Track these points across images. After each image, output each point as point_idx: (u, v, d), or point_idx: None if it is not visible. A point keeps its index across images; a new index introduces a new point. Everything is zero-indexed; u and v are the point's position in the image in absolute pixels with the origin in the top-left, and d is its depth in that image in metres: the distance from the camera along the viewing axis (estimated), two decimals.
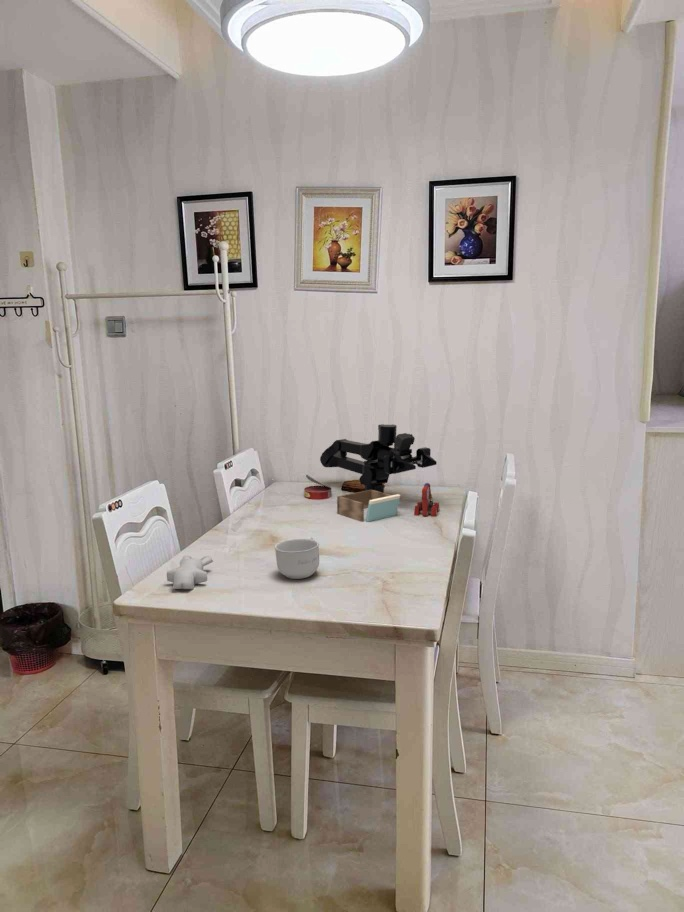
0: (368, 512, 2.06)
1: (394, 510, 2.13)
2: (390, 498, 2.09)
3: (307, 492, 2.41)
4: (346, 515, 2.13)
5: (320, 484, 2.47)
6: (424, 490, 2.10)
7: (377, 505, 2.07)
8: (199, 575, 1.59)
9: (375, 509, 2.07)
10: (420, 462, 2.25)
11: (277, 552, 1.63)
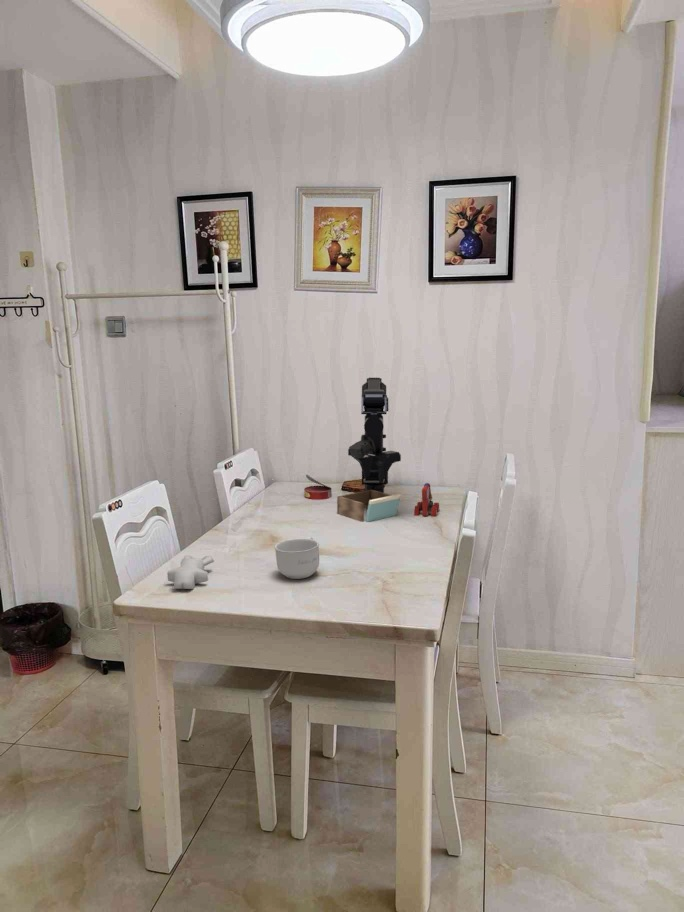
0: (368, 512, 2.06)
1: (394, 510, 2.13)
2: (390, 498, 2.09)
3: (307, 492, 2.41)
4: (346, 515, 2.13)
5: (320, 484, 2.47)
6: (424, 490, 2.10)
7: (377, 505, 2.07)
8: (199, 575, 1.59)
9: (375, 509, 2.07)
10: None
11: (277, 552, 1.63)
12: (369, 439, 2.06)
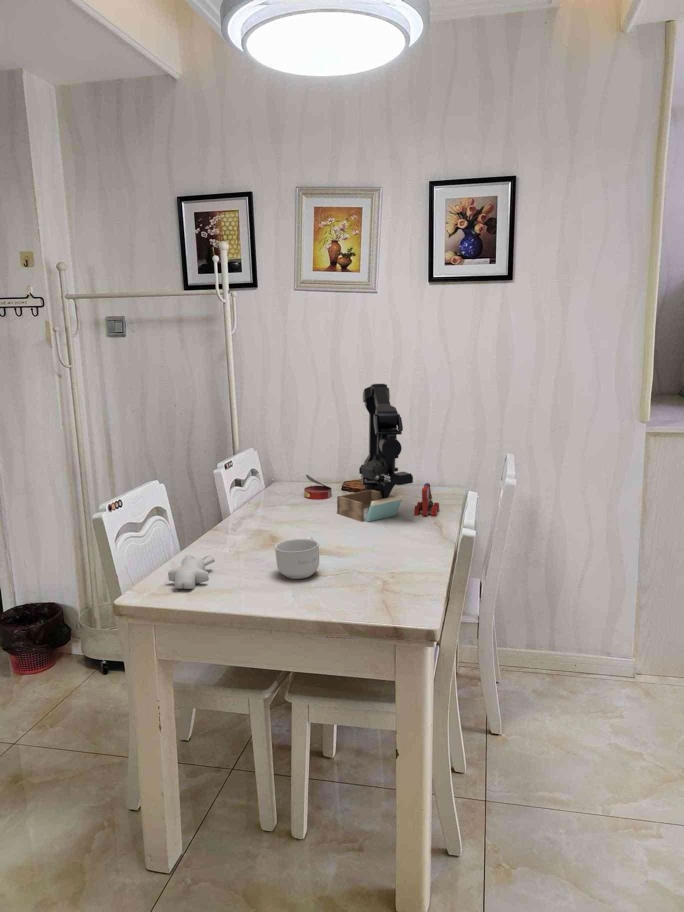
0: (369, 513, 2.06)
1: (394, 510, 2.12)
2: (392, 499, 2.09)
3: (307, 492, 2.41)
4: (346, 515, 2.13)
5: (320, 484, 2.47)
6: (424, 490, 2.10)
7: (378, 506, 2.06)
8: (200, 575, 1.59)
9: (376, 510, 2.06)
10: None
11: (277, 552, 1.63)
12: (381, 459, 2.02)
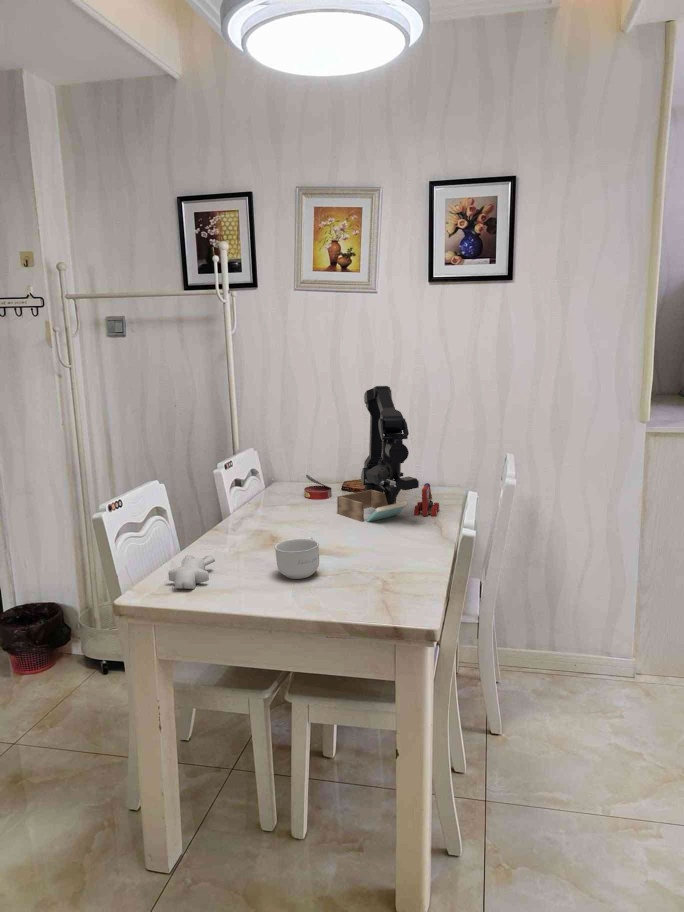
0: (371, 515, 2.05)
1: (396, 512, 2.12)
2: (397, 506, 2.07)
3: (307, 492, 2.41)
4: (346, 515, 2.13)
5: (320, 484, 2.47)
6: (424, 490, 2.10)
7: (382, 512, 2.05)
8: (200, 575, 1.59)
9: (379, 514, 2.06)
10: None
11: (277, 552, 1.63)
12: (386, 464, 2.01)
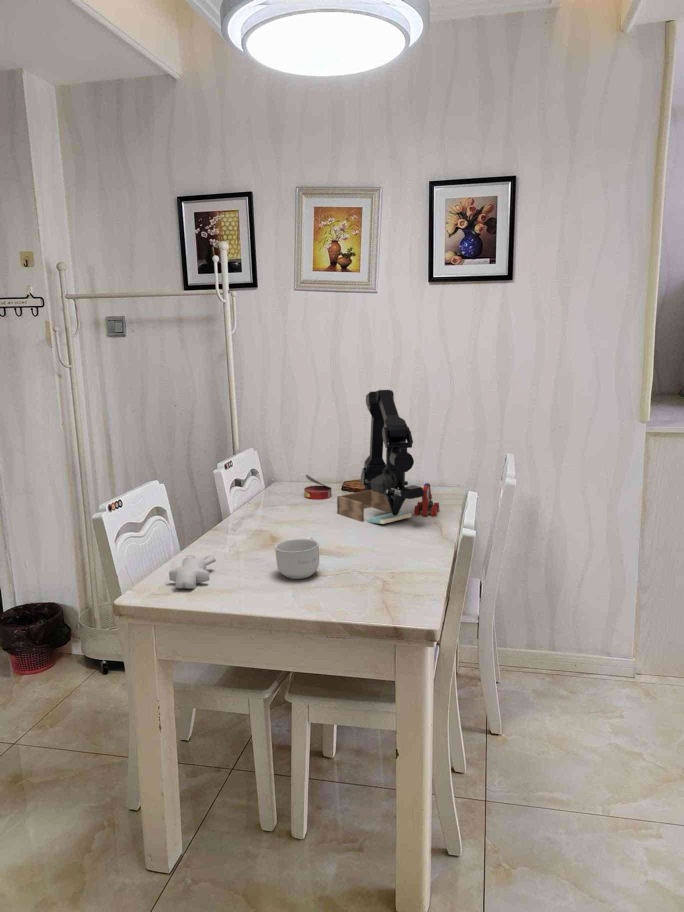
0: (374, 521, 2.04)
1: None
2: (401, 518, 2.06)
3: (307, 492, 2.41)
4: (346, 515, 2.13)
5: (320, 484, 2.47)
6: (424, 490, 2.10)
7: None
8: (201, 574, 1.59)
9: None
10: None
11: (277, 552, 1.63)
12: (391, 473, 2.00)
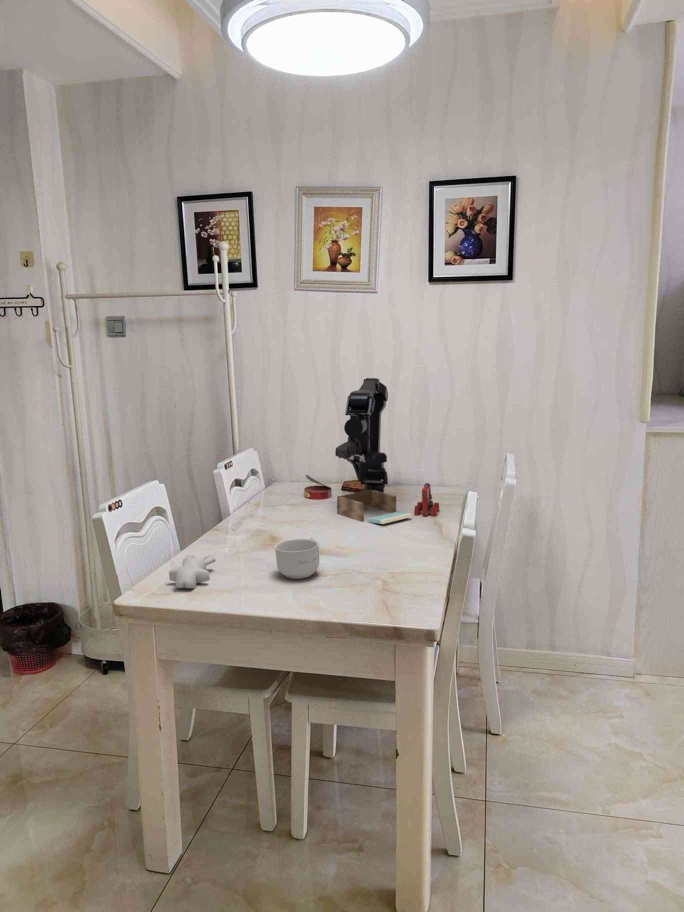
0: (374, 521, 2.04)
1: None
2: None
3: (307, 492, 2.41)
4: (346, 515, 2.13)
5: (320, 484, 2.47)
6: (424, 490, 2.10)
7: None
8: (201, 574, 1.59)
9: None
10: None
11: (277, 552, 1.63)
12: (355, 440, 2.08)
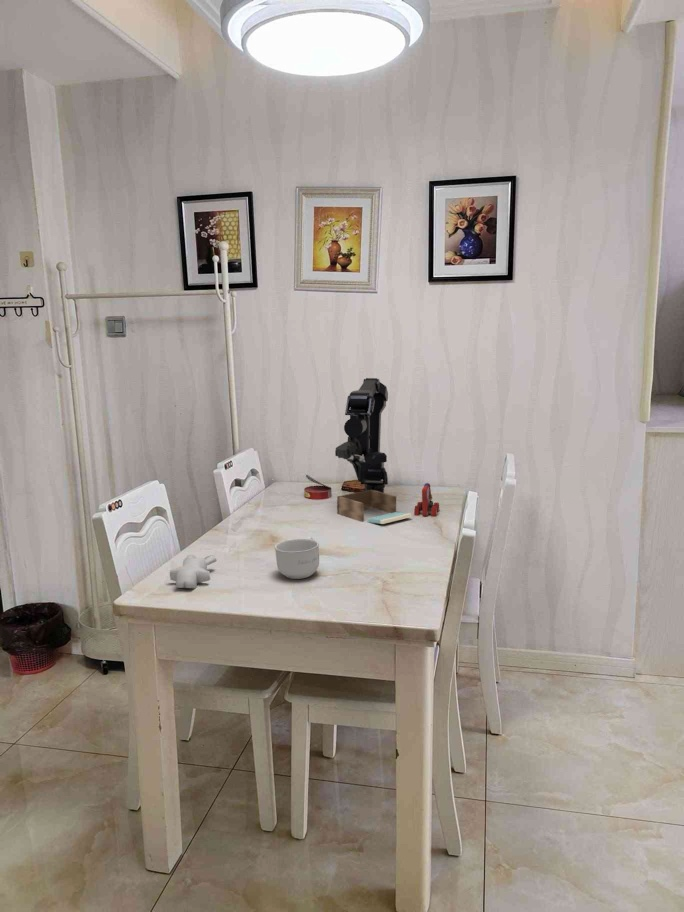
0: (374, 521, 2.04)
1: None
2: None
3: (307, 492, 2.41)
4: (346, 515, 2.13)
5: (320, 484, 2.47)
6: (424, 490, 2.10)
7: None
8: (202, 574, 1.59)
9: None
10: None
11: (277, 552, 1.63)
12: (355, 440, 2.08)
